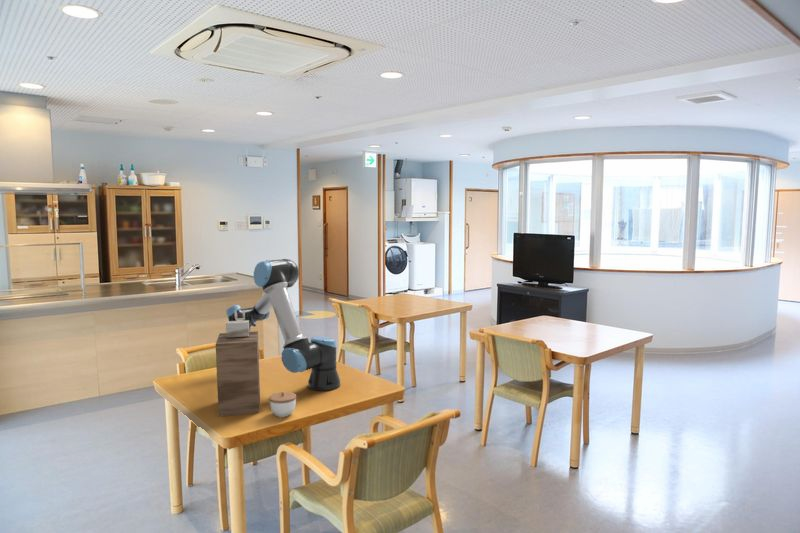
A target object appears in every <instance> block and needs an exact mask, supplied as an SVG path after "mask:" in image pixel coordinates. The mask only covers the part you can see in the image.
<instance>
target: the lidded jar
mask: <svg viewBox="0 0 800 533" xmlns="http://www.w3.org/2000/svg"><path fill="white" fill-rule="evenodd" d="M268 398H269V407H270V410H271V412H272V414H274V416H276V417H277V416H278V417H277V418H285V417H284V416H287V417H289V416H288V415H290V414H292V413H293V412H294V411H295V409H296V404H297V394H296V393H294V392H290V391H281V392H275V393H273V394H271V395H269V397H268ZM290 416H291V415H290Z"/></svg>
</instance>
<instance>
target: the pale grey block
mask: <svg viewBox="0 0 800 533" xmlns="http://www.w3.org/2000/svg"><path fill="white" fill-rule="evenodd" d="M225 333H226V338H227V337H245V336H249V320H243V318H238V319H237V321H229V320H227V321H226V322H225Z"/></svg>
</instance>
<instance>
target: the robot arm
mask: <svg viewBox="0 0 800 533" xmlns="http://www.w3.org/2000/svg"><path fill="white" fill-rule="evenodd" d="M299 277H300V270H299V267H298V264H296V262H295V261H293V260H291V259H287V258H282V259H272V260H270V259H269V260H267V259H266V260H263V261H260V262H257V263H256V265H255V267H254V269H253V280H254V283H255V285H256V286H258V287H260V288H262V291H263V295H262V296H261V297H260V298H259V299H258V300H257V302H256V303H255V304H254V306H252V307H246V308H242V307H241V306H240V305H238V304H234V305H231V306H229V307H228V308H227V309H226V316H227V319H228V321H237V319H238V318H243V320H249V332H252V331H251V330H252V329H251V327H253V328H254V327H257V325H256V324H257V322H258V321H259V322H260V321H261V322H262V321H265V320H267V319H268V318H269V317H270V310H271V309H273V311H274V314H275V317H276V320H277V323H278V326H279V328H280V332H281V334H282V337H283V340H284V344H283V346H282V348H283V350H282V352H281V361H282V365H283V367H284V368H285V369H286V370H287V371H288V372H290V373H293V374H294V373H295V374H297V373H302V372H305V371H308V370H311V372H310V375H309V378H308V382H307V386H308V388H309V390H312V391H321V392H322V391H331V390H335V389H337V388H339V387H341V379H340V376H339V373H338V369H337V363H336V362H337V343H336V340H335V339H334V338H331V337H327V336H315V337H311V338H310V341H309V338H308V337H307V336H304V335H303V334H304V333H303V331H302V329H301V326H300V324H299V319H298V317H297V315H296V312H295V309H294V306H293V304H292V300H291V298H290V294H289V293H288V289H289V288H292V287H293V286H294V285H295V284H296V283H297V281H298V279H299Z"/></svg>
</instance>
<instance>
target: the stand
mask: <svg viewBox="0 0 800 533" xmlns="http://www.w3.org/2000/svg"><path fill="white" fill-rule="evenodd" d="M259 351H260V350H259V331H258V330H257V331H251V332H249V336H245V337H227V338H226V332H224V333H219V335H218V337H217V339H216V341H215V363H216V384H217V385H216V388H217V408H218V410H217V412H218V416H217V417H227V416H238V415H249V414H250V415H252V414H259V413H260V408H261V407H260V405H261V387H260V385H261V384H260V382H261V381H260V360H259V358H260V357H259V356H260V354H259Z"/></svg>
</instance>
